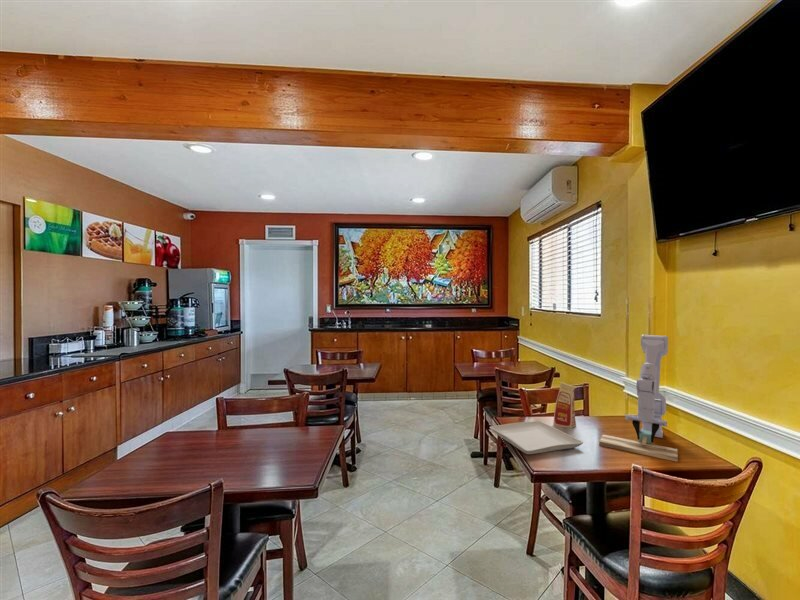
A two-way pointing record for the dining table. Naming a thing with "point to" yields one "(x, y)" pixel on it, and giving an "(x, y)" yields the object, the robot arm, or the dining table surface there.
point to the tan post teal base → (645, 437)
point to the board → (639, 447)
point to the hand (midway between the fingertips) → (645, 440)
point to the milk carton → (565, 407)
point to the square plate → (535, 437)
